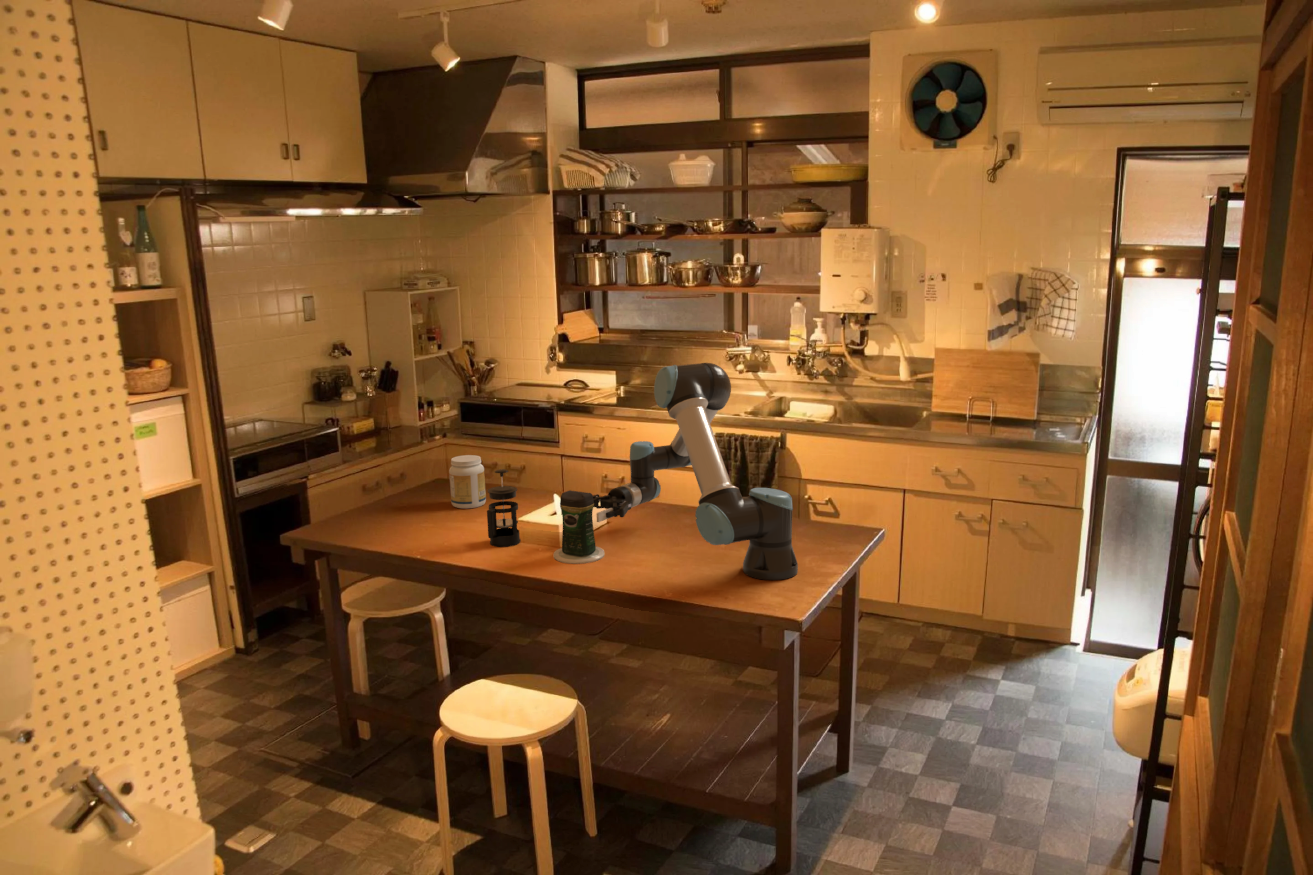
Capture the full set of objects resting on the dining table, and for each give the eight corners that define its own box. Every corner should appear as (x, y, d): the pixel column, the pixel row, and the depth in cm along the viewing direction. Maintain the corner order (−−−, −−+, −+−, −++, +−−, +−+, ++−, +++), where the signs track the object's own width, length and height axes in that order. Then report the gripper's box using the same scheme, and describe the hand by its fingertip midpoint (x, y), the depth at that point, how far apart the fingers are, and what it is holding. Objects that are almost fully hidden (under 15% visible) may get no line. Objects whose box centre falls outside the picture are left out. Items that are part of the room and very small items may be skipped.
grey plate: (610, 560, 276) (610, 557, 276) (559, 566, 272) (559, 563, 271) (597, 545, 290) (597, 542, 290) (548, 550, 286) (548, 547, 285)
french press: (505, 535, 301) (502, 464, 297) (528, 540, 296) (524, 468, 291) (479, 545, 292) (475, 472, 287) (502, 550, 287) (498, 476, 282)
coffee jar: (600, 551, 282) (598, 490, 278) (585, 559, 275) (583, 496, 271) (572, 546, 286) (570, 486, 283) (557, 554, 280) (555, 493, 276)
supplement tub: (475, 498, 346) (473, 452, 342) (492, 504, 336) (490, 458, 333) (445, 504, 338) (442, 458, 335) (461, 511, 329) (458, 463, 325)
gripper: (656, 515, 290) (613, 533, 273) (593, 503, 304) (548, 519, 287) (656, 491, 288) (612, 508, 271) (592, 480, 303) (547, 495, 286)
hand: (579, 514), depth 279 cm, fingers open, 13 cm apart
